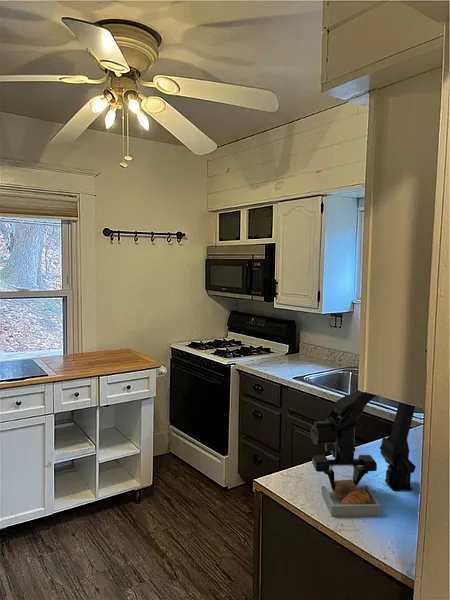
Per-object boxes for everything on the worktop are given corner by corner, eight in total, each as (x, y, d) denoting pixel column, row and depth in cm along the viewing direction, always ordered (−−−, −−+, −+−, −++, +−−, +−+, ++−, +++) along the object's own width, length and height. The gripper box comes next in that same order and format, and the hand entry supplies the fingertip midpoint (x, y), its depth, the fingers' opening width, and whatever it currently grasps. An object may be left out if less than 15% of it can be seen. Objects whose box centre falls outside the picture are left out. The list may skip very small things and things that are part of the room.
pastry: (352, 517, 130) (353, 504, 130) (334, 506, 136) (334, 494, 135) (373, 506, 136) (374, 494, 135) (355, 496, 141) (355, 485, 141)
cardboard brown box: (350, 490, 145) (351, 479, 144) (356, 496, 141) (356, 485, 140) (332, 491, 144) (333, 480, 143) (337, 498, 140) (338, 487, 140)
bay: (367, 494, 142) (367, 485, 142) (380, 515, 131) (380, 505, 131) (321, 495, 142) (322, 485, 141) (331, 516, 130) (331, 506, 130)
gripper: (365, 430, 150) (364, 476, 152) (309, 431, 149) (307, 476, 151) (378, 445, 139) (376, 494, 140) (317, 445, 138) (315, 494, 140)
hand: (343, 489), depth 143 cm, fingers closed on cardboard brown box, 6 cm apart
